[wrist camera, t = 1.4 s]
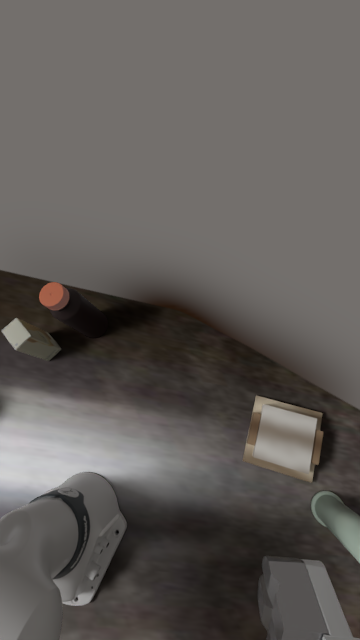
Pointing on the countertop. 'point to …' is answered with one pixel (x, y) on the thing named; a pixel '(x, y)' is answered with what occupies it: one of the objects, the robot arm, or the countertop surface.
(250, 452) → the stand
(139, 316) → the countertop surface
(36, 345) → the skincare box
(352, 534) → the sage vase
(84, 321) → the bottle
